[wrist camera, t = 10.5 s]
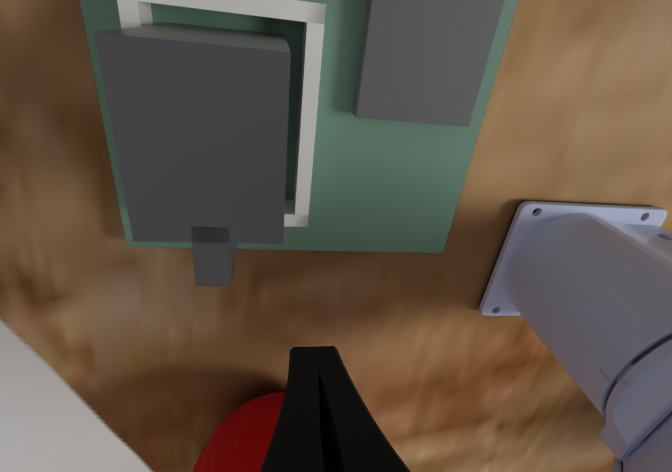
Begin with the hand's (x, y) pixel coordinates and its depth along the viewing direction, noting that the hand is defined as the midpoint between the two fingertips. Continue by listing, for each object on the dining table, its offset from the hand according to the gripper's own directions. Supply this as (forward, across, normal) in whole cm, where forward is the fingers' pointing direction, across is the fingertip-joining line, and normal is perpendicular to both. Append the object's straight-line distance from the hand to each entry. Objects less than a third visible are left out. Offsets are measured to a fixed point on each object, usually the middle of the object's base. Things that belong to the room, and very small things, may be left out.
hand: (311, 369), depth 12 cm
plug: (+8, +3, -6) cm, 11 cm away
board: (+9, 0, -6) cm, 11 cm away
